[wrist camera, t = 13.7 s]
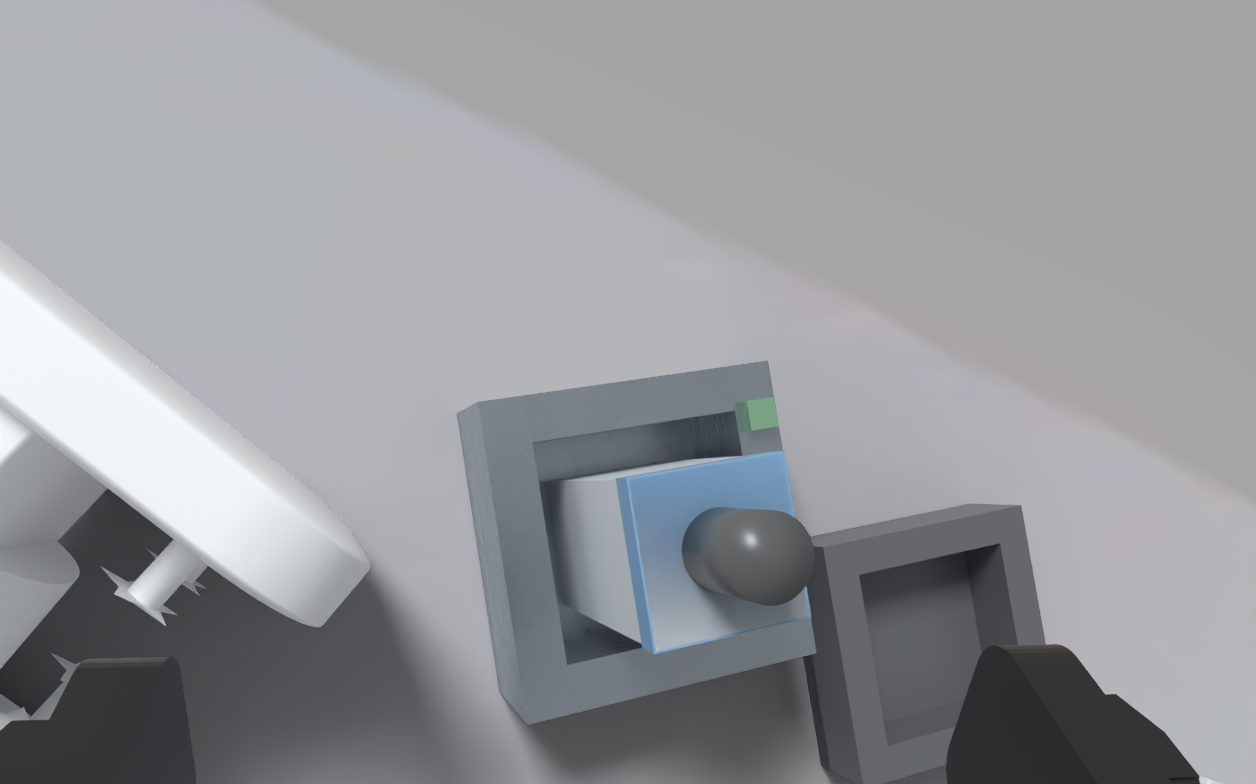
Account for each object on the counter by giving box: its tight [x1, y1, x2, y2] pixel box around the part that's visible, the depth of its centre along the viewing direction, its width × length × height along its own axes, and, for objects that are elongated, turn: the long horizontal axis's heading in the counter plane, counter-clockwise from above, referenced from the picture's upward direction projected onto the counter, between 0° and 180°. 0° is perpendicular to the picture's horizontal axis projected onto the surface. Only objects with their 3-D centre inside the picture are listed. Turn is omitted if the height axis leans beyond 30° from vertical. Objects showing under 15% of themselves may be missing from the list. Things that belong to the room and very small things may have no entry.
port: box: [457, 361, 816, 725], centre depth 27 cm, size 8×8×4 cm
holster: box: [804, 504, 1046, 784], centre depth 30 cm, size 7×7×2 cm
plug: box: [547, 451, 814, 654], centre depth 24 cm, size 4×4×10 cm
